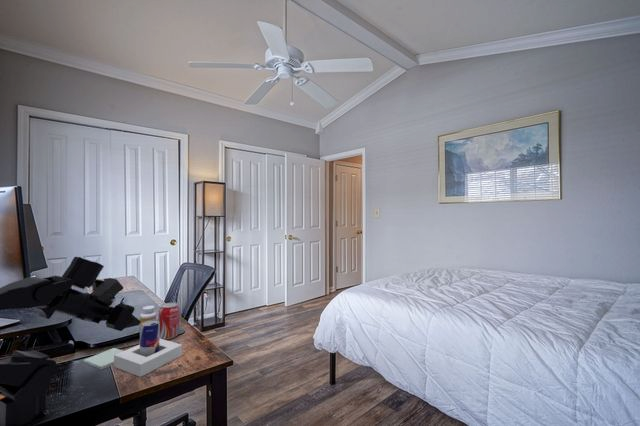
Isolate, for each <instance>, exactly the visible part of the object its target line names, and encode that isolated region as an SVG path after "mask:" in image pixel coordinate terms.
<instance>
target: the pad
mask: <svg viewBox="0 0 640 426" xmlns="http://www.w3.org/2000/svg"><path fill="white" fill-rule="evenodd" d="M123 351H124V350H122V349H118V348H117V347H116V348H115V347H112V348H111V349H108V350H105V351H103V352H102V351H101V352H100V353H97V354H95V355H93V356H90V357H87V358H84V359H83V364H87V365H89V366H91V367H94V368H95V369H96V368H97V369H99V370H104V369H106V368H108V367H110V366H114V355H116V354H118V353H120V352H123Z"/></svg>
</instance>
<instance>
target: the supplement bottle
mask: <svg viewBox="0 0 640 426" xmlns="http://www.w3.org/2000/svg"><path fill="white" fill-rule="evenodd" d="M141 311H142V312H141V313H140V316H139V320H140V321H141V322H140V324H139V327H140V326H141V323H143V322H145V321H148V320H157V312H155V305H146V306H143V307H142V310H141Z"/></svg>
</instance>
